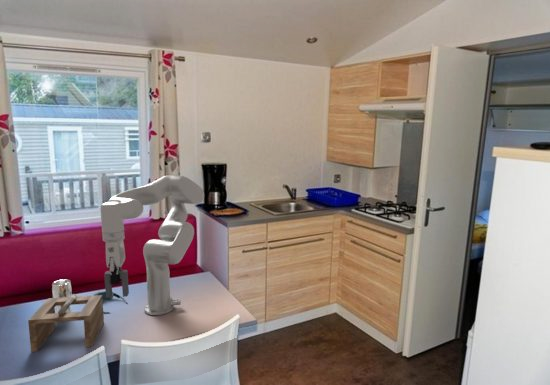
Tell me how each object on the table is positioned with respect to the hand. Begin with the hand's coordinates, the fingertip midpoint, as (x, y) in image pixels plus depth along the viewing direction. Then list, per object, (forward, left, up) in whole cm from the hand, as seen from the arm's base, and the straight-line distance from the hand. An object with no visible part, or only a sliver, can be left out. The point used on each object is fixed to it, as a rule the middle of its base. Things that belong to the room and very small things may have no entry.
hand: (116, 281), depth 144 cm
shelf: (+18, -2, -21) cm, 28 cm away
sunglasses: (+11, -27, -22) cm, 37 cm away
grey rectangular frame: (0, 0, -5) cm, 5 cm away
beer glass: (+26, -20, -22) cm, 39 cm away
